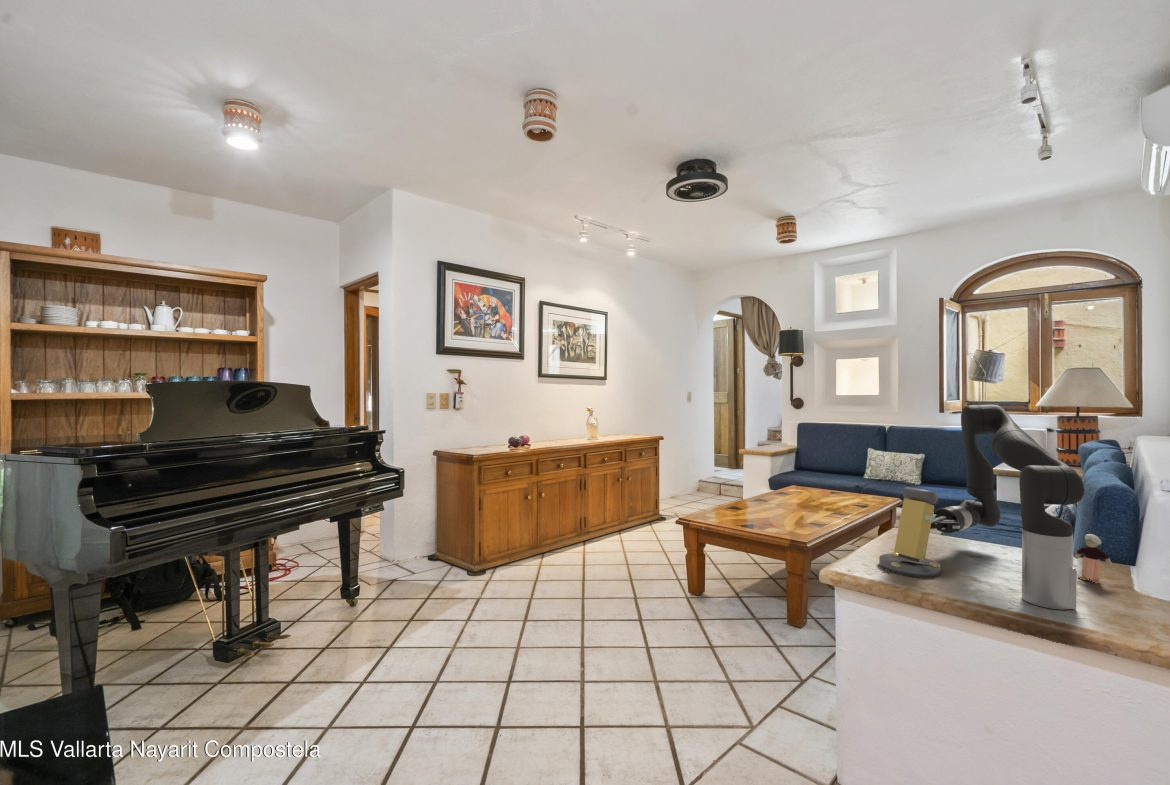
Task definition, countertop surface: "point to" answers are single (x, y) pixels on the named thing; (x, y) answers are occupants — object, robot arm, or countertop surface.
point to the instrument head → (915, 523)
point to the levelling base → (909, 566)
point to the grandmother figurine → (1092, 559)
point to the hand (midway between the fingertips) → (920, 526)
